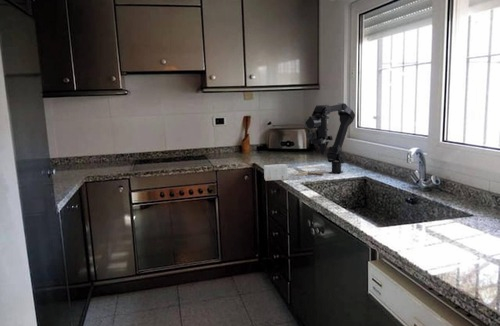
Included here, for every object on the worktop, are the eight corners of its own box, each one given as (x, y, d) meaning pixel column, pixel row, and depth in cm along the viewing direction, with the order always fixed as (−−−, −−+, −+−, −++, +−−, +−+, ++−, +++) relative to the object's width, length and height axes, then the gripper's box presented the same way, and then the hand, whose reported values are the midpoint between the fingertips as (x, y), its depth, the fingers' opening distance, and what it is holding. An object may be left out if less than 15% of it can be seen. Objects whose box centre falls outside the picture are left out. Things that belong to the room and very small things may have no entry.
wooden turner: (299, 172, 230) (299, 171, 230) (324, 174, 221) (324, 172, 221) (295, 174, 225) (295, 172, 225) (320, 176, 216) (320, 174, 216)
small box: (285, 163, 217) (263, 164, 216) (287, 165, 211) (265, 166, 210) (286, 177, 219) (264, 178, 217) (288, 179, 212) (265, 180, 211)
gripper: (314, 125, 223) (315, 151, 226) (301, 128, 207) (302, 156, 210) (332, 125, 217) (332, 152, 220) (320, 128, 201) (321, 157, 204)
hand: (322, 154), depth 214 cm, fingers closed
